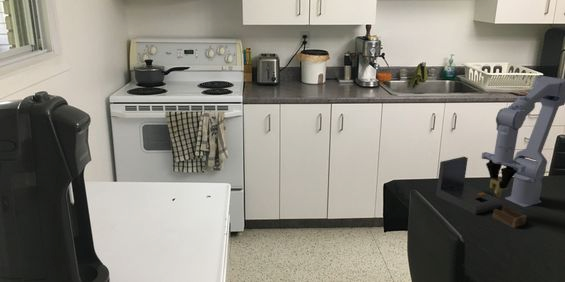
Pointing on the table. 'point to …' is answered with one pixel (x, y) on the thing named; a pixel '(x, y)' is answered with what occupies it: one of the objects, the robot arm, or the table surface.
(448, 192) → the dark grey l-shaped block
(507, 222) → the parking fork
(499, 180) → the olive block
